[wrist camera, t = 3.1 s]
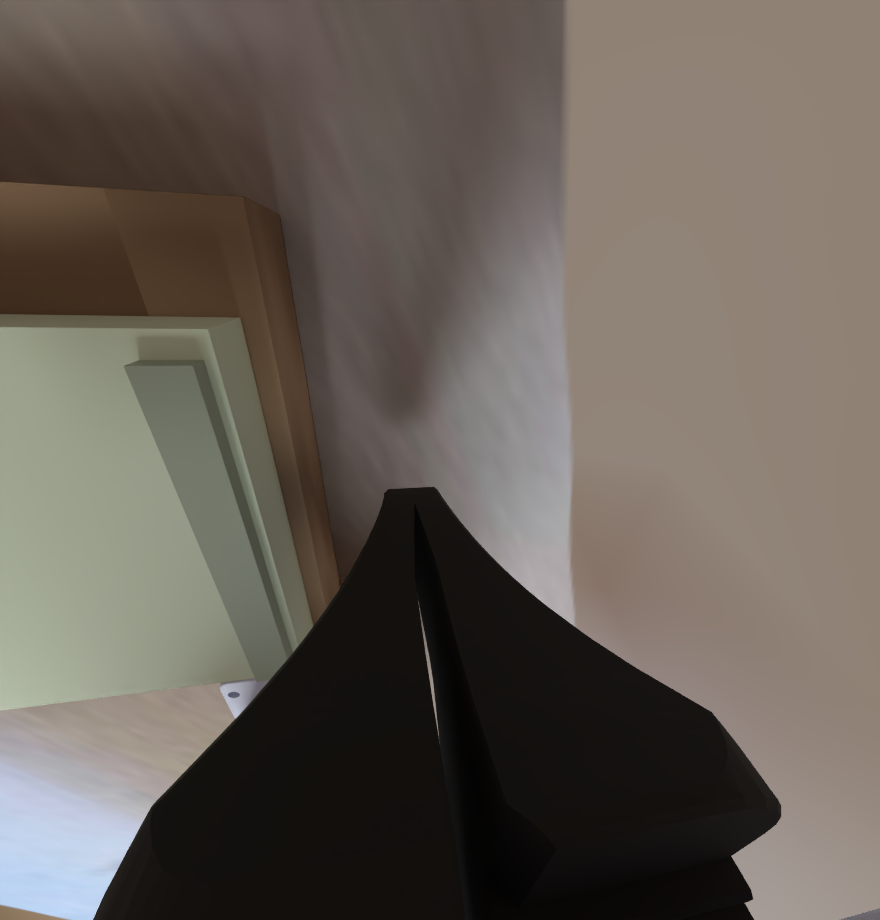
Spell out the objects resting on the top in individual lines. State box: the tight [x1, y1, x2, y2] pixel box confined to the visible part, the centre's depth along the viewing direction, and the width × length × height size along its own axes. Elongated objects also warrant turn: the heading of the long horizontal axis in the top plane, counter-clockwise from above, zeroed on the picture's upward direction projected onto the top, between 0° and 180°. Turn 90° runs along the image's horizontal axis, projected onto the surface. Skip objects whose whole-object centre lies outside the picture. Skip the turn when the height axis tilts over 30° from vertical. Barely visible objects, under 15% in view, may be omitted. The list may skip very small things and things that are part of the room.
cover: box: [0, 314, 313, 711], centre depth 8 cm, size 10×9×2 cm
